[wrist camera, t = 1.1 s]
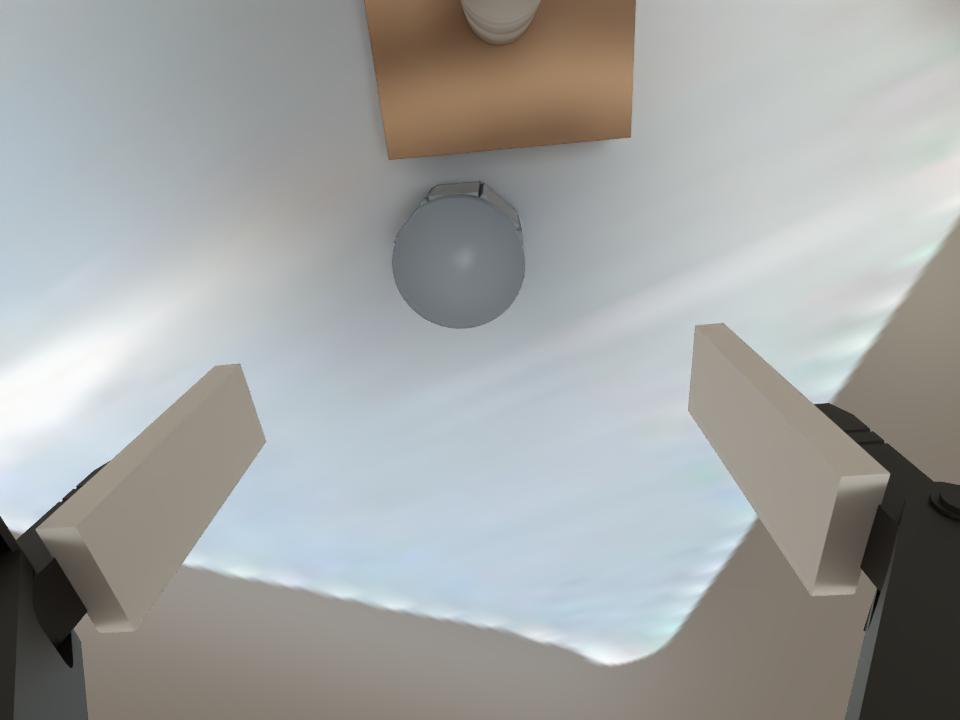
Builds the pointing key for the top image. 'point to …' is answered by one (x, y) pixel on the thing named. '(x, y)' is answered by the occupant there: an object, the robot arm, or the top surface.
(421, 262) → the cap
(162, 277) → the top surface
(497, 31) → the block
